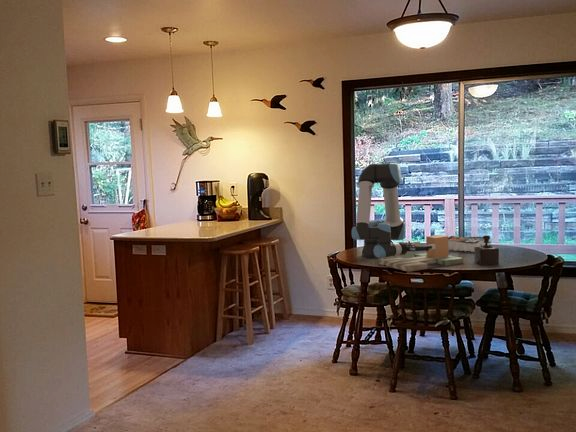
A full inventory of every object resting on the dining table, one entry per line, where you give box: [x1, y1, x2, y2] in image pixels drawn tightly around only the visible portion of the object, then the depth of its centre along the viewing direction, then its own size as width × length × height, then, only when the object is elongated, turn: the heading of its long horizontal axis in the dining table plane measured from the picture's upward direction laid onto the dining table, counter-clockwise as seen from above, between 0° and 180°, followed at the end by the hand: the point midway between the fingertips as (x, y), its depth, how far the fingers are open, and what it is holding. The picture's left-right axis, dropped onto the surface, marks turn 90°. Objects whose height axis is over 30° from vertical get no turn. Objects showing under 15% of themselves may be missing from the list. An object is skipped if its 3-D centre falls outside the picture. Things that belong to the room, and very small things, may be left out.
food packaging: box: [448, 235, 485, 253], centre depth 371 cm, size 25×8×23 cm
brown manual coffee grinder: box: [473, 234, 500, 266], centre depth 318 cm, size 16×11×18 cm
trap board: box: [378, 251, 464, 273], centre depth 329 cm, size 28×40×3 cm
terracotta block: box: [425, 234, 450, 258], centre depth 334 cm, size 8×10×12 cm
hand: (427, 244), depth 330 cm, fingers open, 13 cm apart
